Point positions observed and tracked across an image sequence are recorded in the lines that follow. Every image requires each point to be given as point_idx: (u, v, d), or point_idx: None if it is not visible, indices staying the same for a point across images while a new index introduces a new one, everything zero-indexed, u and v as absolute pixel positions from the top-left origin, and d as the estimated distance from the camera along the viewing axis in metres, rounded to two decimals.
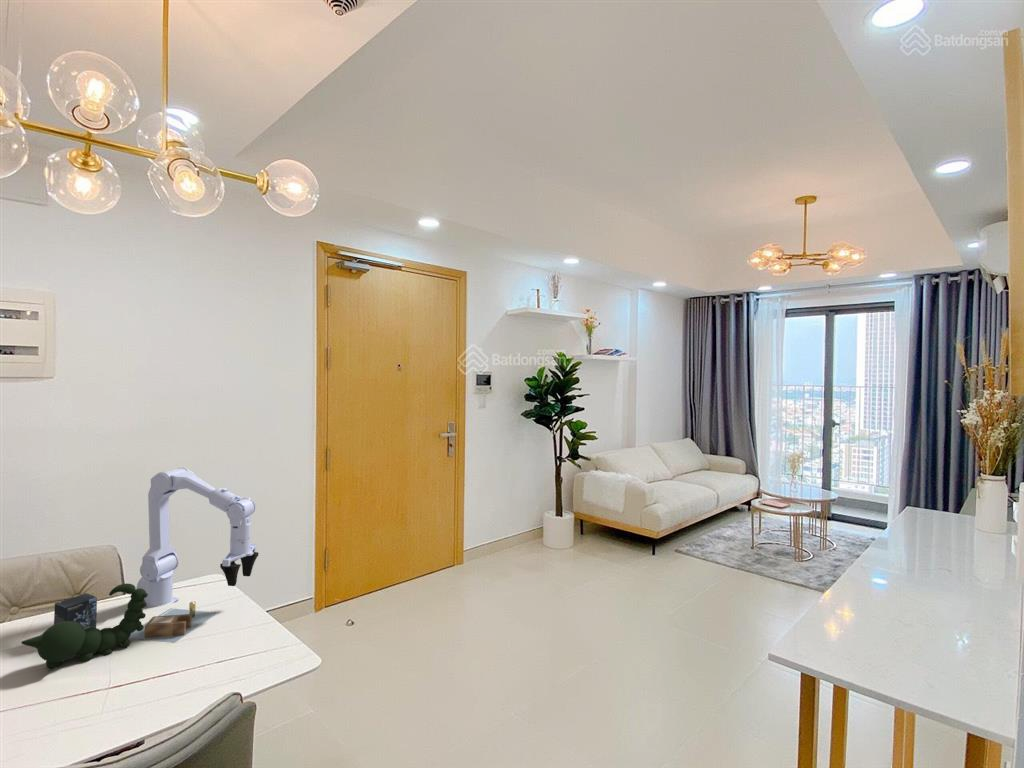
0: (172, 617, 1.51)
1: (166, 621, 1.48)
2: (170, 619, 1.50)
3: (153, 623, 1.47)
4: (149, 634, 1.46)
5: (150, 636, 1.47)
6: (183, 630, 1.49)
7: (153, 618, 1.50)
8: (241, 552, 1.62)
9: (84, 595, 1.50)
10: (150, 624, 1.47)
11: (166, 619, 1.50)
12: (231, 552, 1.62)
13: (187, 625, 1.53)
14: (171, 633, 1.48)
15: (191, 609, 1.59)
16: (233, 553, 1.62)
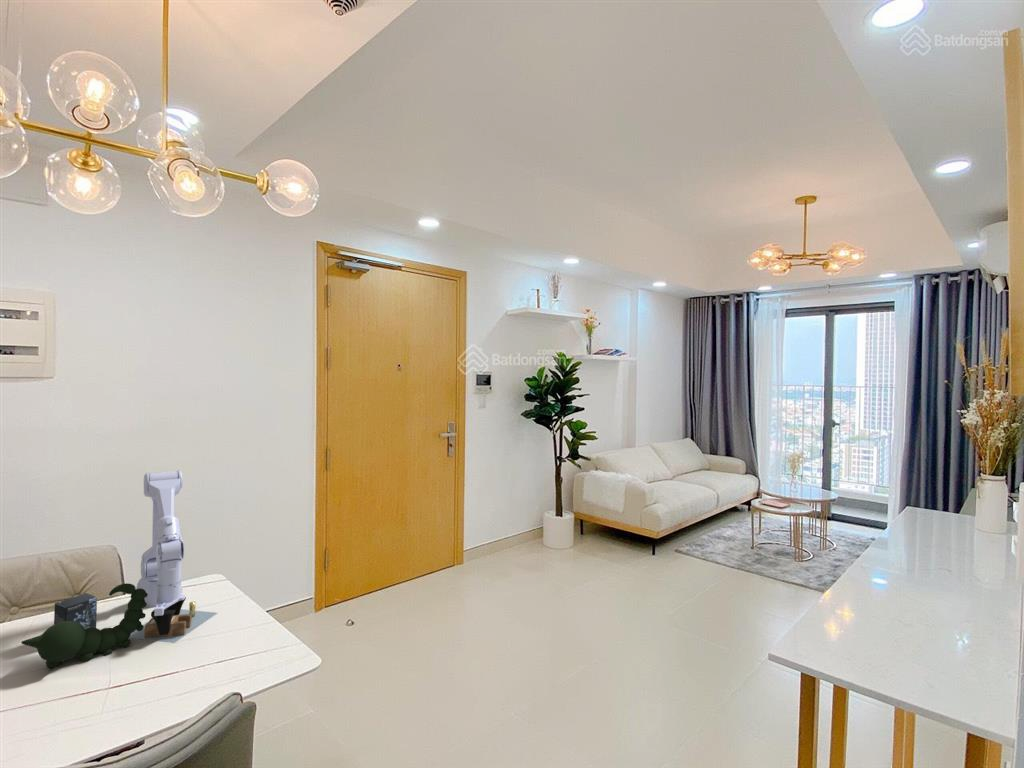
0: (172, 617, 1.51)
1: None
2: None
3: (153, 623, 1.47)
4: (149, 634, 1.46)
5: (150, 636, 1.47)
6: (183, 630, 1.49)
7: None
8: (173, 597, 1.48)
9: (84, 595, 1.50)
10: (150, 624, 1.47)
11: None
12: (160, 599, 1.47)
13: (187, 625, 1.53)
14: (171, 633, 1.48)
15: (191, 609, 1.59)
16: (163, 600, 1.47)
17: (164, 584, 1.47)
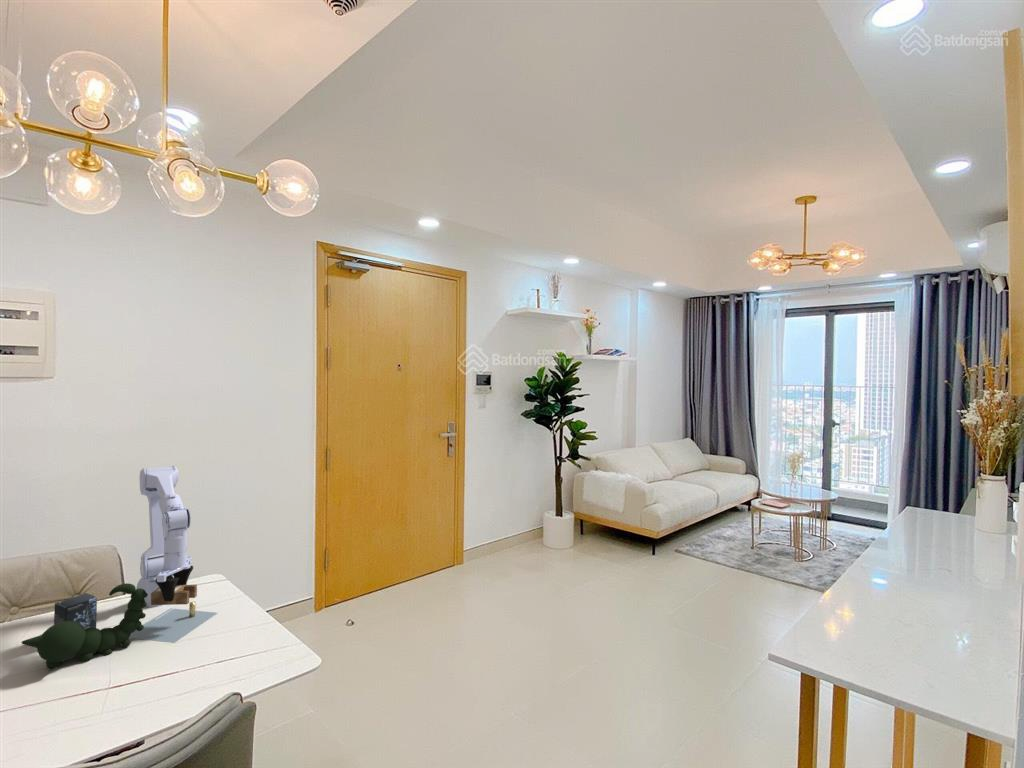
0: (178, 586, 1.55)
1: None
2: (175, 588, 1.54)
3: (159, 591, 1.52)
4: (155, 601, 1.51)
5: (156, 603, 1.51)
6: (186, 599, 1.52)
7: None
8: (177, 565, 1.52)
9: (84, 595, 1.50)
10: (156, 592, 1.51)
11: None
12: (165, 566, 1.51)
13: (192, 595, 1.56)
14: (175, 602, 1.51)
15: (191, 609, 1.59)
16: (168, 567, 1.51)
17: (171, 552, 1.51)
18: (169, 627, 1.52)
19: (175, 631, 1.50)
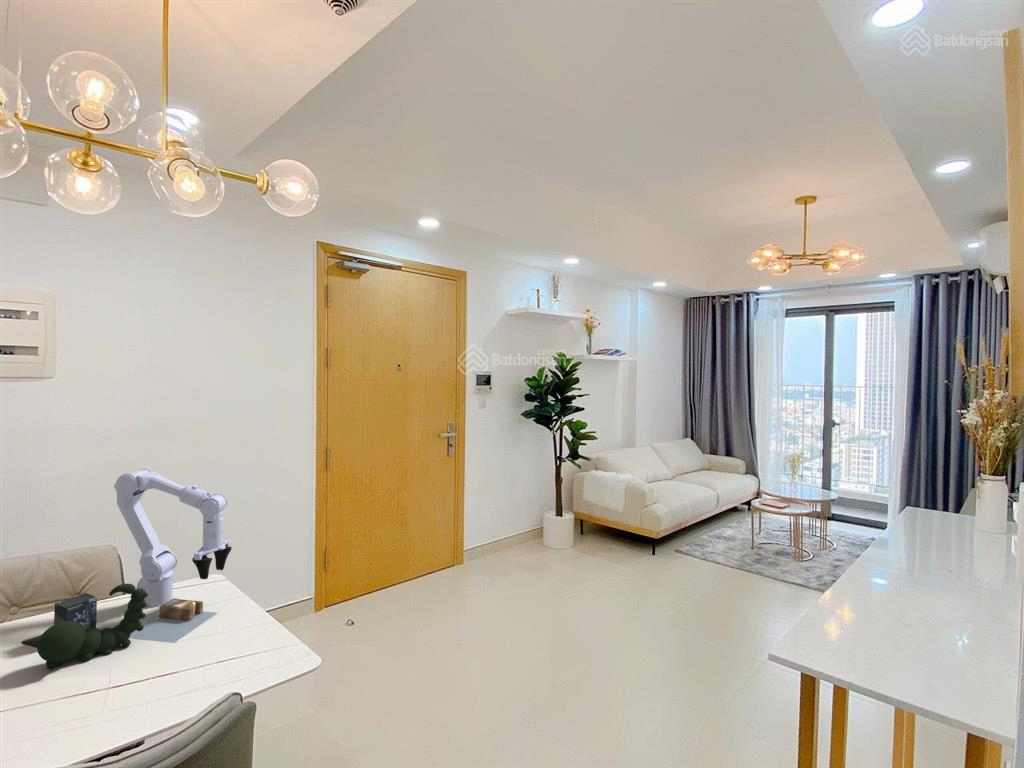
0: (185, 602, 1.61)
1: (177, 605, 1.58)
2: (182, 604, 1.60)
3: (167, 605, 1.58)
4: (163, 615, 1.58)
5: (163, 617, 1.58)
6: (189, 616, 1.57)
7: (171, 600, 1.62)
8: (213, 546, 1.67)
9: (84, 595, 1.50)
10: (164, 606, 1.58)
11: (179, 603, 1.60)
12: (203, 546, 1.67)
13: (198, 611, 1.61)
14: (179, 617, 1.57)
15: None
16: (205, 547, 1.66)
17: (218, 532, 1.68)
18: (169, 627, 1.52)
19: (175, 631, 1.50)
